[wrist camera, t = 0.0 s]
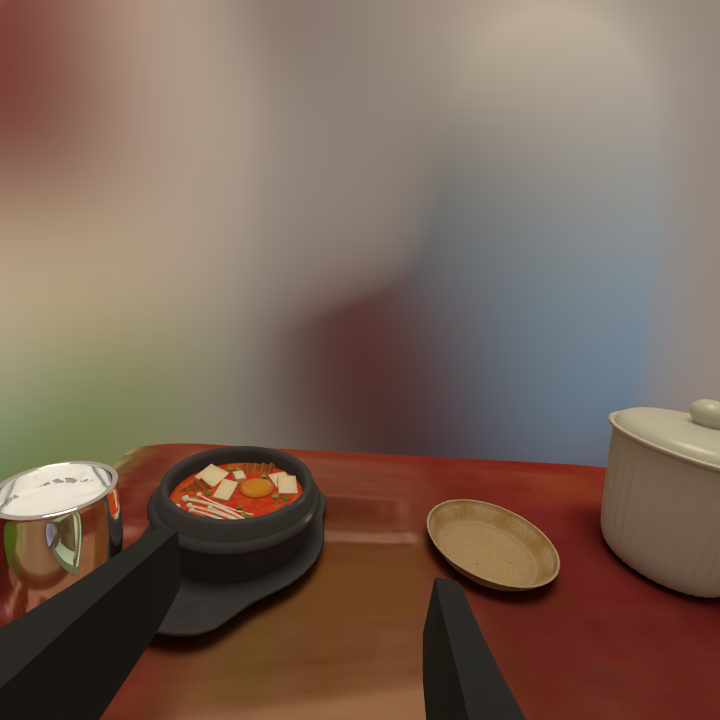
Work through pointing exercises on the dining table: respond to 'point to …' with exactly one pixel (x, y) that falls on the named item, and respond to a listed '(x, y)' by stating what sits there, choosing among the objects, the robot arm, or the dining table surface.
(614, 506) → the canister
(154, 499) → the casserole
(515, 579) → the plant saucer
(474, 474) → the dining table surface
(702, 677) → the dining table surface
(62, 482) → the silver metal tumbler
